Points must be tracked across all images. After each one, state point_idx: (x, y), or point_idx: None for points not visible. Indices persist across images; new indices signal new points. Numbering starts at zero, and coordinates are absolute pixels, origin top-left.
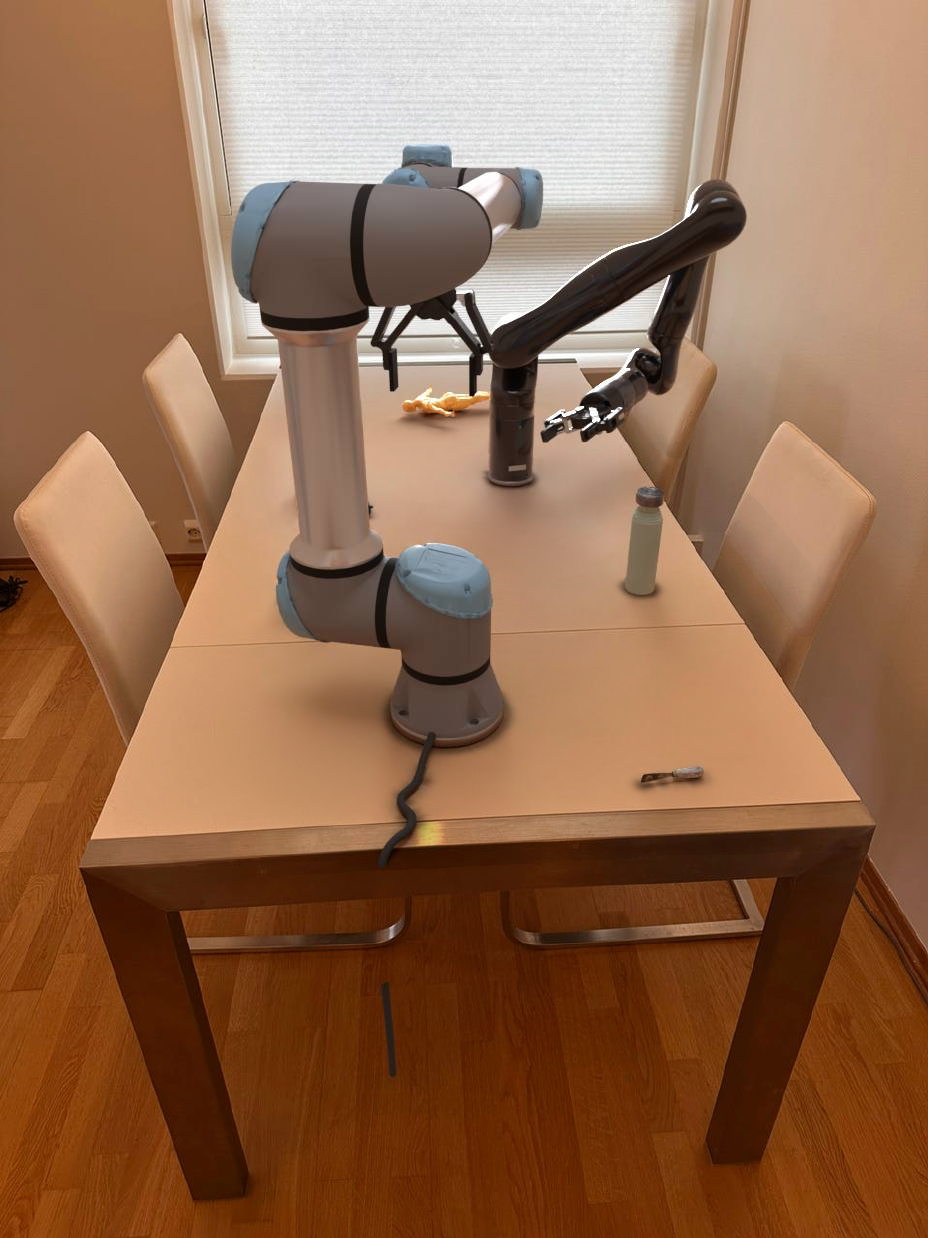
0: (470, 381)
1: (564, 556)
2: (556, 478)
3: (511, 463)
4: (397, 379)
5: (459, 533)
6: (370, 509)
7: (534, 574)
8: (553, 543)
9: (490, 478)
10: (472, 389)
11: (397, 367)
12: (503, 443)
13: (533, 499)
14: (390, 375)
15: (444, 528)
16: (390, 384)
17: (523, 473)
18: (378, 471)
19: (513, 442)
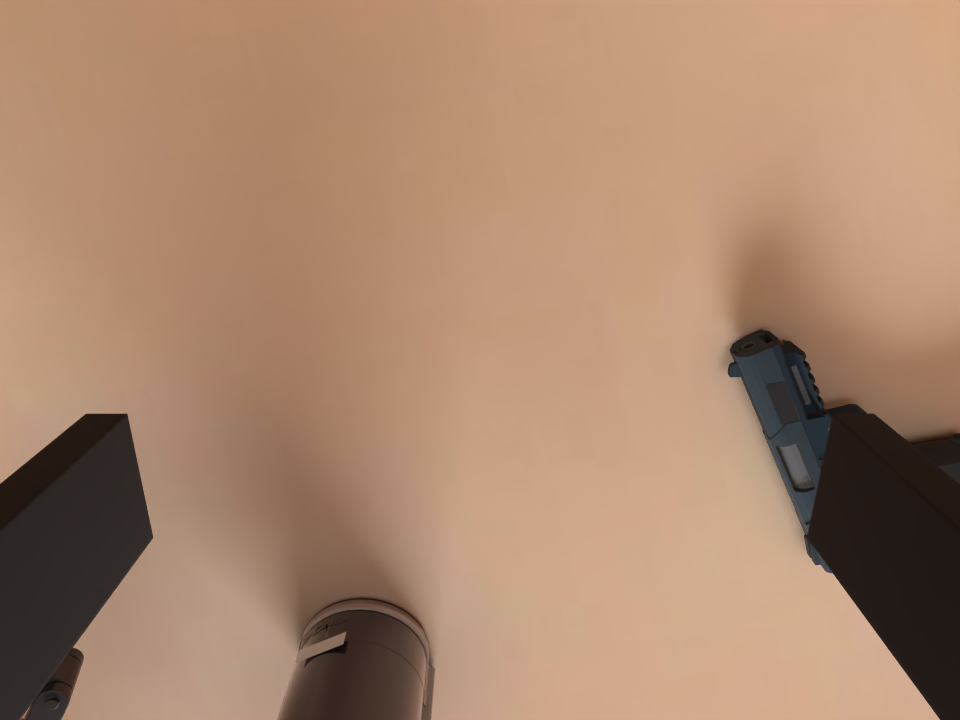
0: (28, 485)
1: (61, 199)
2: (240, 667)
3: (336, 654)
4: (845, 565)
5: (422, 287)
6: (733, 352)
7: (110, 51)
8: (121, 278)
9: (415, 626)
10: (59, 445)
11: (905, 664)
12: (351, 709)
13: (265, 539)
14: (956, 495)
15: (477, 311)
16: (901, 444)
17: (310, 640)
18: (755, 627)
19: (315, 714)
